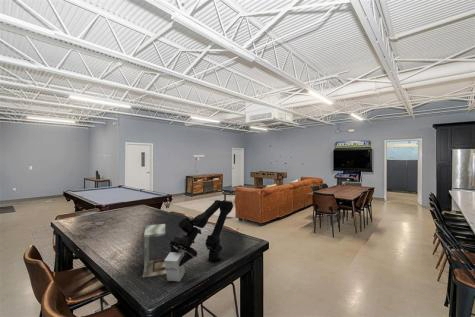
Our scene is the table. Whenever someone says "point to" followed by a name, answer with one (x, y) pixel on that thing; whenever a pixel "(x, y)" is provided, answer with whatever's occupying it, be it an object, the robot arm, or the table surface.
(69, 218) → the table surface
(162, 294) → the table surface
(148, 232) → the awning stand
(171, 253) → the supplement box
